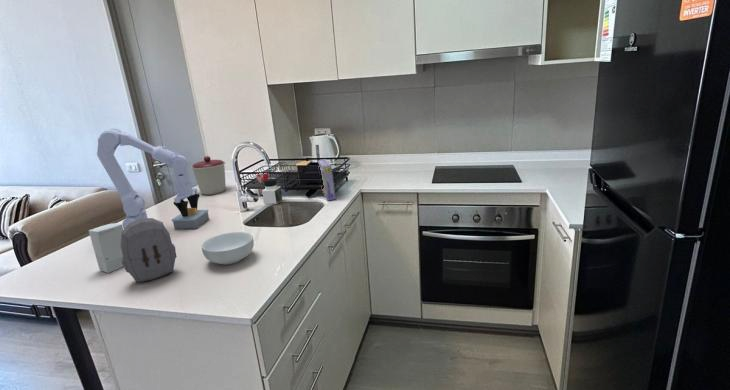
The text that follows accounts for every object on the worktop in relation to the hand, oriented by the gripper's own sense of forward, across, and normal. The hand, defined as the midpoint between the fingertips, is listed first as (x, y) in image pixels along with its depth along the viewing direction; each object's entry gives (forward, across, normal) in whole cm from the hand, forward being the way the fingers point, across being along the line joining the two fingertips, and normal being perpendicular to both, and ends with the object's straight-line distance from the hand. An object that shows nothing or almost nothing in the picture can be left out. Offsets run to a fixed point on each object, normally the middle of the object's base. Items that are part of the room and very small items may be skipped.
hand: (190, 213), depth 167 cm
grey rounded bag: (+5, -47, -14) cm, 49 cm away
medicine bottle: (+5, +29, -27) cm, 40 cm away
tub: (+5, 0, 0) cm, 5 cm away
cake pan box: (+6, +36, -54) cm, 65 cm away
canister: (+5, +51, +16) cm, 54 cm away
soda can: (+5, +43, -18) cm, 47 cm away
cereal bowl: (+6, -35, -34) cm, 49 cm away
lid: (+2, 0, 0) cm, 2 cm away
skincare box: (+5, -39, +6) cm, 40 cm away
